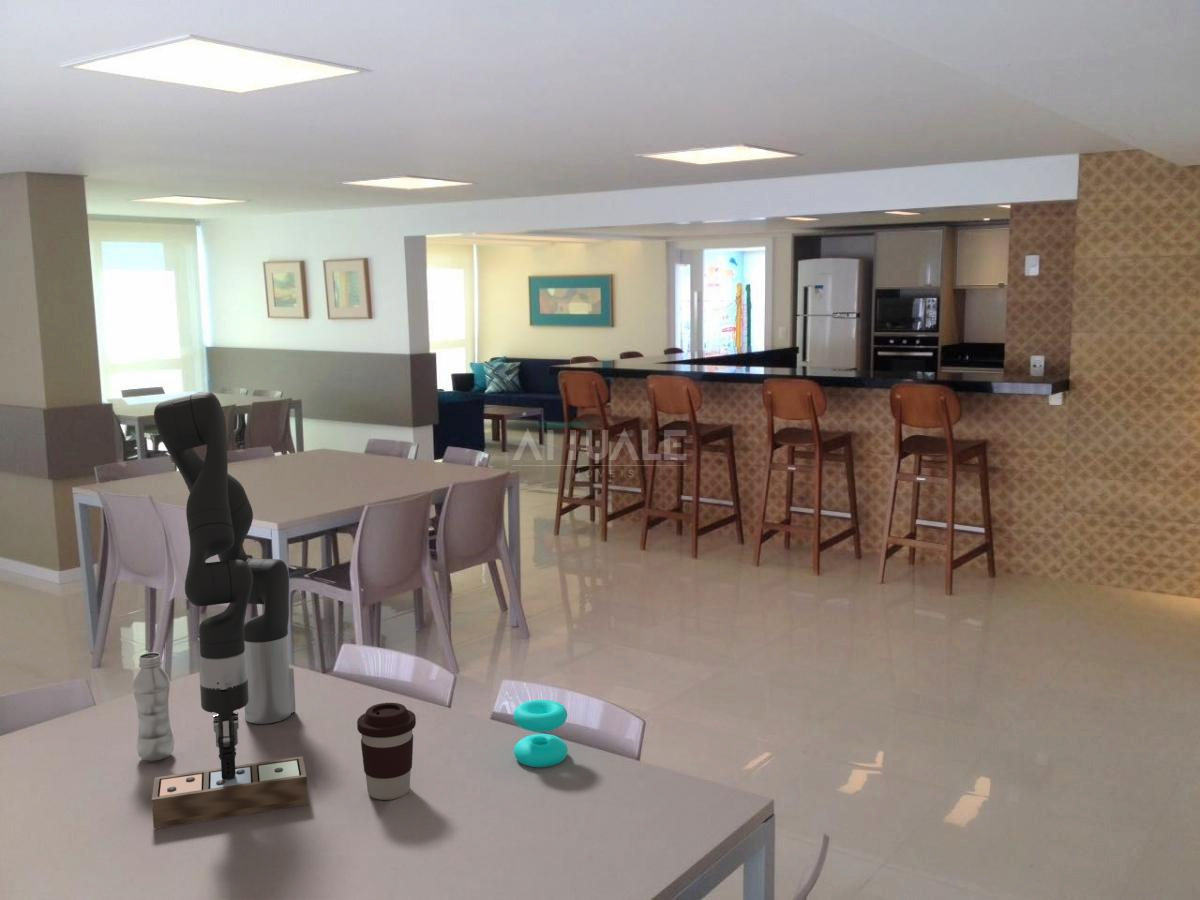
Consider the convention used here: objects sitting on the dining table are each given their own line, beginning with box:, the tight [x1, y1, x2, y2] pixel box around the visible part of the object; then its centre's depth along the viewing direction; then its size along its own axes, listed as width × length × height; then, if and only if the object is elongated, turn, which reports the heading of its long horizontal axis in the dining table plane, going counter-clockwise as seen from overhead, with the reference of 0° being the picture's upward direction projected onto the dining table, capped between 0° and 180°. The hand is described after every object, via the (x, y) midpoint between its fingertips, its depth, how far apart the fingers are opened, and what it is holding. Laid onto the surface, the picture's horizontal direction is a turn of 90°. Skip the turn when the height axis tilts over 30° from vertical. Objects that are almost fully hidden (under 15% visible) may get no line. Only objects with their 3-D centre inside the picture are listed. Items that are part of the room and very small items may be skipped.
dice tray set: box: [151, 755, 309, 829], centre depth 177 cm, size 24×9×5 cm, turn 110°
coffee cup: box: [356, 702, 417, 801], centre depth 181 cm, size 10×10×15 cm
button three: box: [210, 767, 251, 789], centre depth 177 cm, size 6×6×3 cm
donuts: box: [513, 699, 569, 768], centre depth 195 cm, size 10×10×10 cm
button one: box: [259, 760, 299, 782], centre depth 179 cm, size 6×6×3 cm
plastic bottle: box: [132, 651, 175, 762], centre depth 195 cm, size 6×7×20 cm
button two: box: [159, 774, 203, 797], centre depth 174 cm, size 6×6×3 cm
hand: (228, 777), depth 176 cm, fingers closed
